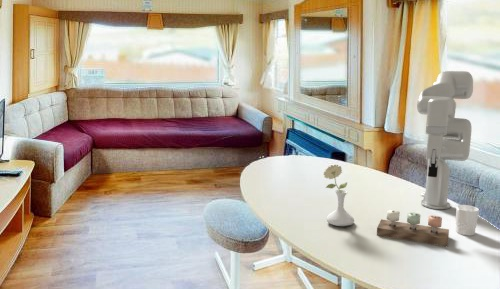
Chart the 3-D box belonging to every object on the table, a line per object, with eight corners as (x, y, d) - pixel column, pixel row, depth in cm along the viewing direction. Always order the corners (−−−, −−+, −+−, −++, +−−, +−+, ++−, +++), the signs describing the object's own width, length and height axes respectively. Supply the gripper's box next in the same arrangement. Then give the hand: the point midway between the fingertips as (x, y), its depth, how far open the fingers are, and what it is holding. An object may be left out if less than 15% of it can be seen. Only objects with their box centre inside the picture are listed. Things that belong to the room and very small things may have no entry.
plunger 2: (405, 231, 166) (406, 214, 164) (407, 227, 170) (408, 211, 168) (418, 233, 164) (419, 216, 162) (419, 229, 168) (420, 212, 166)
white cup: (464, 237, 166) (466, 212, 164) (449, 229, 173) (451, 205, 172) (481, 235, 168) (483, 210, 166) (466, 227, 175) (468, 204, 174)
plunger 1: (385, 228, 169) (386, 211, 167) (387, 224, 173) (388, 208, 172) (397, 230, 167) (398, 213, 166) (399, 226, 171) (400, 210, 170)
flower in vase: (352, 219, 185) (355, 161, 180) (355, 229, 174) (359, 168, 169) (321, 218, 186) (323, 161, 181) (322, 228, 175) (324, 167, 170)
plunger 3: (426, 234, 162) (428, 217, 161) (427, 230, 167) (429, 214, 165) (440, 236, 160) (441, 219, 159) (440, 232, 165) (442, 215, 163)
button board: (376, 235, 168) (377, 227, 167) (380, 226, 177) (381, 219, 176) (447, 246, 157) (448, 238, 157) (448, 236, 166) (448, 229, 166)
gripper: (427, 127, 178) (423, 170, 182) (424, 132, 164) (420, 179, 168) (447, 128, 175) (443, 172, 178) (446, 134, 161) (442, 182, 164)
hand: (432, 175), depth 173 cm, fingers closed
